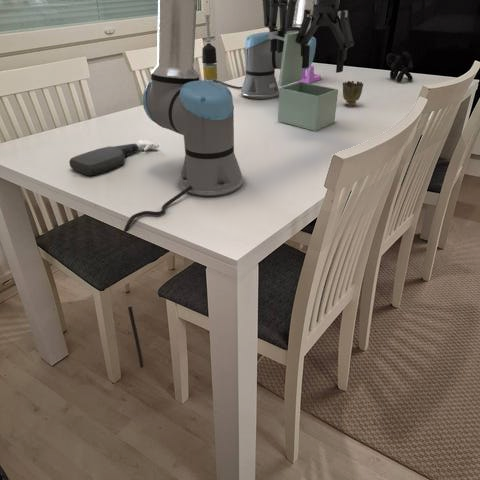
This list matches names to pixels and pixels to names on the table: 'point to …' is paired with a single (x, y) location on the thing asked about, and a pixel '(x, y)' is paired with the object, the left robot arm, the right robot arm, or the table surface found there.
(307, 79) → the bracket
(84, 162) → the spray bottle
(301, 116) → the chest
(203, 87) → the left robot arm
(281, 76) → the lid
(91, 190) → the table surface
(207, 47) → the filter
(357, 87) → the cup
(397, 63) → the squiggle
